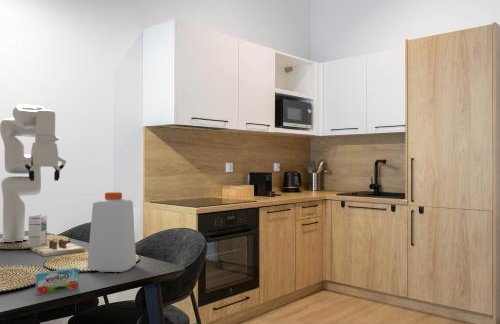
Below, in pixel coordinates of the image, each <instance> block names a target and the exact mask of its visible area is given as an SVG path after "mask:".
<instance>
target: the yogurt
mask: <svg viewBox="0 0 500 324" xmlns="http://www.w3.org/2000/svg"><path fill="white" fill-rule="evenodd" d="M79 271H80V269H79V268H77V267H72V268H67V269H66V268H65V269H57V270H52V271H45V272H38V273H36V274H35V295H36V296H43V295H48V294H54V293H59V292H65V291H71V290H77V289H78V288H79V276H80V275H79V274H80V272H79Z"/></svg>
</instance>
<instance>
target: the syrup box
mask: <svg viewBox="0 0 500 324" xmlns="http://www.w3.org/2000/svg"><path fill="white" fill-rule="evenodd" d="M47 221H48V220H47V215H46V214H34V215H30V216H28V248H29V247H34V246H44V245H48V244H47V235H48V233H47V229H48V228H47V223H48V222H47Z"/></svg>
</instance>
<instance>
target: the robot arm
mask: <svg viewBox="0 0 500 324" xmlns="http://www.w3.org/2000/svg"><path fill="white" fill-rule="evenodd" d="M12 116H13V118H12V117H11V118H10V117H9V118H4V119H2V120H1V122H0V136H1V139H2V142H3V145H4V169H5V172H6V173H8V174H13V175H14V174H15V176H8V177H7V176H6V177H5V178H3V179H2V181H1V193H2V203H3V205H2V206H3V207H2V237H1V238H0V243H4V242H12V243H15V242H14V241H22V242H24V241H23V240H26V241H28V240H29V236H25V231H26V230H25V229H26V228H25V225H26V224H25V221H26V217H25V216H26V206H25V202H24V200H23V199H22V198H21V197H22V196H23V197H25V196H36V195H39V193H40V192H41V189H42V179H41V178H42V174H41V173H42V171H41V170H42V167H43V168H44V167H46V168H47V167H48V168H49V167H51V168H52V167H53V169H54V172H53V173H54V174H53V176H54V177H53V179H54V180H53V181H59V179H60V173H61V172H60V171H62V170H63V168H65V165H66V163H67V161H66V160H65V159H63V158H62V157H59V151H58V145H57V143H56V142H58V141H59V137H56V112H55V111H54V110H50V109H46V108H45V107H43V106H40V105H33V104H32V105H31V104H18V105H16V106H15V107H14V108H13V109H12ZM19 137H28V138H29V137H30V138H31V137H32V138H33V137H34V138H35V139H34V141H35V142H32V145H31V152H30V154H25V146H24V143H23V141H22V140H20V138H19ZM59 162H60V163H61V164H60V165H59ZM58 165H59V166H58ZM16 174H17V175H19V174H21V175H22V174H23V175H24V174H25V175H28V176H16ZM27 239H28V240H27Z"/></svg>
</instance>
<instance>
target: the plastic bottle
mask: <svg viewBox="0 0 500 324" xmlns="http://www.w3.org/2000/svg"><path fill="white" fill-rule="evenodd" d="M134 218H135V217H134V202H133V201H132V200H131V199H125V198H123V194H122V192H120V191H112V192H111V191H108V192H107V191H106V192H105V193H104V199H100V200H95V201H94V202H93V203H92V210H91V222H90V229H89V231H90V232H89V242H88V243H89V245H88V253H87V254H88V255H87V266H86V269H87V270H88V269H91V270H97V271H99V272H98V273H104V272H115V273H114V274H117V273H116V272H121V273H125V272H127V271H129V270H131V269H132V268H134V267H135V266H136V264H137V257H136V255H137V254H136V240H135V239H136V238H135V237H136V236H135V221H134V220H135V219H134ZM133 266H134V267H133ZM124 271H125V272H124Z"/></svg>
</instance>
